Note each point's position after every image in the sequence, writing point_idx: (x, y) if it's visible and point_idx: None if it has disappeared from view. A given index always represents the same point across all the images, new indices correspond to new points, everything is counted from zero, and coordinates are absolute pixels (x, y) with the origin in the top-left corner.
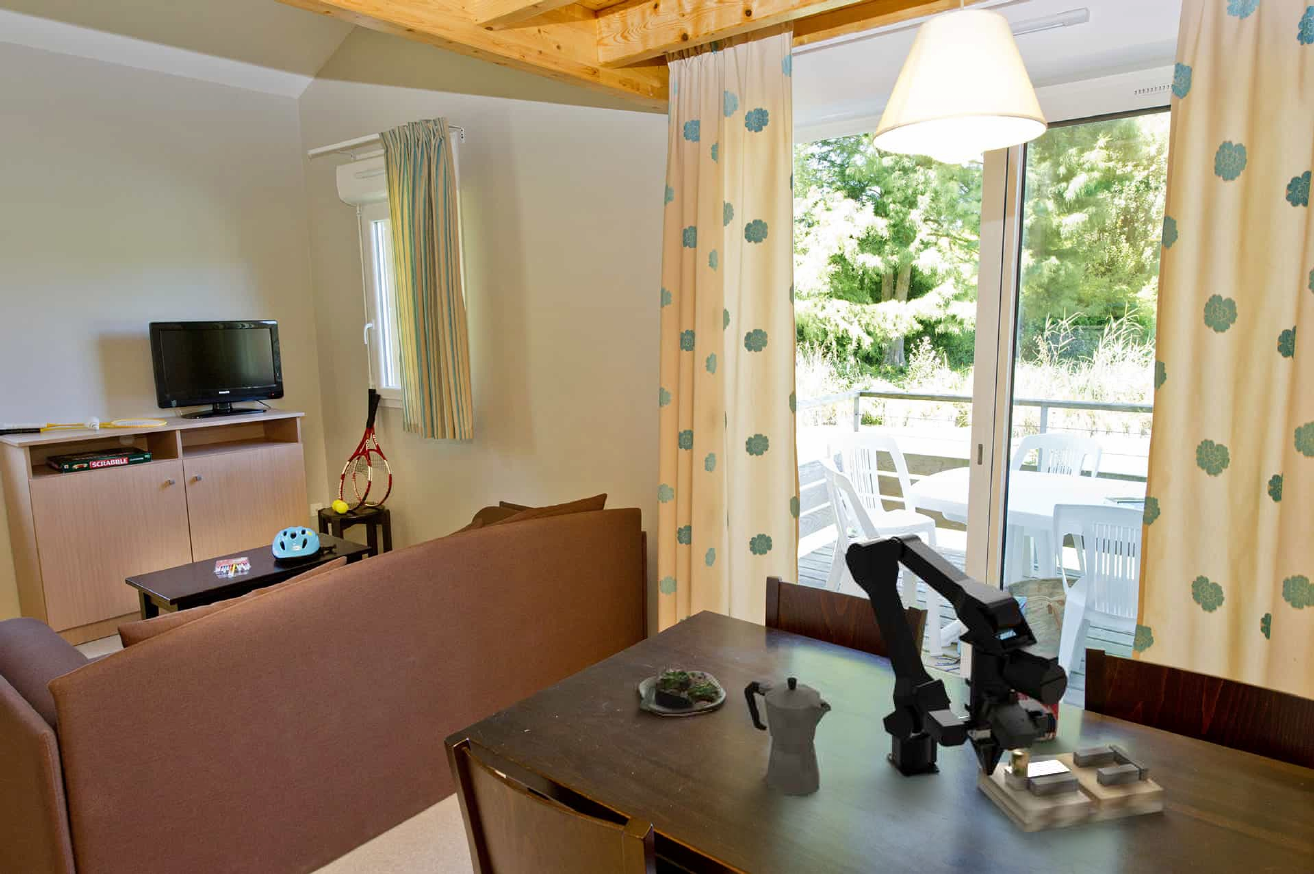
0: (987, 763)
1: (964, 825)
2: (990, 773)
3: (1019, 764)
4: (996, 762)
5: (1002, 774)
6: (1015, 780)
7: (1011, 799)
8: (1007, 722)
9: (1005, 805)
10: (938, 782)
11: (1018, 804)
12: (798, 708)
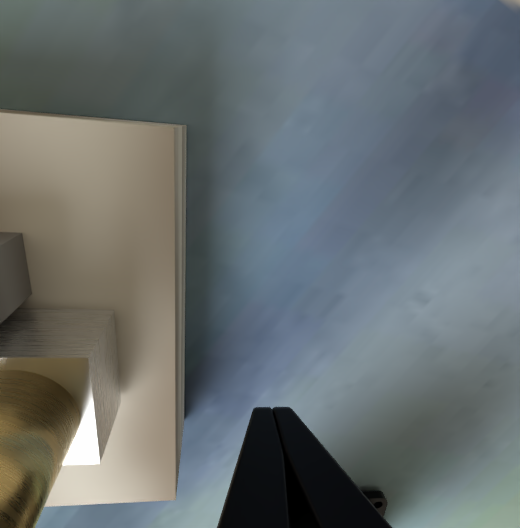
0: (347, 495)
1: (388, 245)
2: (274, 417)
3: (3, 456)
4: (250, 497)
5: None
6: (97, 353)
7: (175, 266)
8: None
9: (181, 283)
10: None
11: (175, 206)
12: None
